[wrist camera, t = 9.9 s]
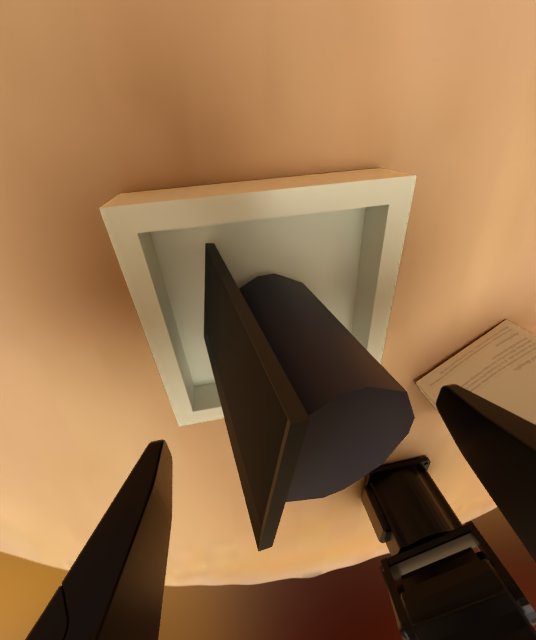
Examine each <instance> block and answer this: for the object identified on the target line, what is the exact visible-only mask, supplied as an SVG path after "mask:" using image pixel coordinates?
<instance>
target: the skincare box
mask: <svg viewBox="0 0 536 640" xmlns="http://www.w3.org/2000/svg"><path fill="white" fill-rule="evenodd" d="M449 384H457V385H459V386H461V387H463V388H465V389H467V390H469V391H471V392H473V393H475V394H477V395H479V396H481V397H483V398H484V399H486V400H488V401H490V402H492V403H494V404H496V405H498V406H500V407H502V408H504V409H506V410H508V411H510V412H512V413H514V414H516V415H518V416H520V417H522V418H524V419H526V420H527V421H529V422H531V423H533V424H535V425H536V336H535V335H534V334H532V333H530V332H528V331H526V330H525V329H523V328H521V327H519V326H518V325H516V324H514V323H512V322H510V321H509V320H505V321H503V322H502V323H501V324H499V325H498V326H496V327H495V328H493V329H492V330H491V331H489V332H488V333H486V334H485V335H483V336H482V337H480V338H479V339H478V340H476V341H475V342H473V343H472V344H470V345H469V346H468V347H466V348H465V349H463V350H462V351H460V352H459V353H457V354H456V355H454V356H453V357H452V358H450V359H449V360H447V361H446V362H444V363H443V364H441V365H440V366H438V367H437V368H435V369H434V370H433V371H431V372H430V373H428V374H427V375H425V376H424V377H422V378H421V379H420V380H418V381H417V382H416V385H417V386H418V388H419V389H420V390H421V392H422V393H423V394H424V395H425V396H426V398H427V399H428V400H429V401H430V403H431V404H432V405H433V406H434V408H435V409H436V410H437V407H436V400H437V397H438V395H439V392H440V389H441V387H442V386H444V385H449ZM437 411H438V410H437Z"/></svg>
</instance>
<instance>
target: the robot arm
mask: <svg viewBox="0 0 536 640" xmlns="http://www.w3.org/2000/svg"><path fill="white" fill-rule="evenodd" d="M436 407H437V410H438V412H439V414H440V415H441V417H442V419H443V421H444V423H445V425H446V426H447V428H448V430H449V432H450V434H451V435H452V437H453V439H454V441H455V443H456V445H457V446H458V448H459V450H460V451H461V453H462V455H463V456H464V458H465V459H466V461H467V462H468V464H469V465H470V467H471V468H472V470H473V471H474V473H475V474H476V475H477V477H478V478H479V480H480V481H481V483H482V484H483V486H484V487H485V489H486V490H487V492H488V493H489V495H490V496H491V498H492V499H493V501H494V502H495V504H496V505H497V506H498V508H499V509H500V511H501V512H502V514H503V515H504V517H505V518H506V520H507V521H508V523H509V524H510V526H511V527H512V528H513V530H514V532H515V533H516V535H517V536H518V537H519V539H520V540H521V542H522V543H523V545H524V546H525V547H526V549H527V551H528V552H529V554H530V555H531V556H532V558H533V560H534V561H535V563H536V425H535V424H533V423H531V422H529V421H527V420H526V419H524V418H522V417H520V416H518V415H516V414H514V413H512V412H510V411H508V410H506V409H504V408H502V407H500V406H498V405H496V404H494V403H492V402H490V401H488V400H486V399H484V398H483V397H481V396H479V395H477V394H475V393H473V392H471V391H469V390H467V389H465V388H463V387H461V386H459V385H457V384H449V385H444V386H442V387H441V389H440V392H439V395H438V397H437V400H436ZM429 465H430V460H429V459H428V457H423V458H418V459H413V460H409V461H404V462H400V463H395V464H391V465H386V466H382V467H377V468H376V469H374V470H373V471H371V472H370V473H368V474H367V477H366V482H365V486H364V490H363V495H362V502H363V505H364V507H365V509H366V511H367V514H368V516H369V518H370V521H371V523H372V525H373V528H374V530H375V533H376V535H377V537H378V540H379V541H380V542H381V543H385V542H386V545H387V547H388V549H389V551H390V554H391V557H389V558H383V559H381V563H382V565H381V566H380V570H381V573H382V575H383V577H384V580H385V583H386V585H387V588H388V591H389V594H390V598H391V602H392V605H393V609H394V613H395V617H396V620H397V624H398V628H399V631H400V634H401V636H402V638H403V639H404V640H536V631H535V630H534V628H533V627H532V626H533V625H536V613H535V612H534V610H533V608H532V607H531V605H530V604H529V602H528V601H527V599H526V597H525V596H524V595H523V593H522V591H521V590H520V589H519V587H518V586H517V584H516V583H515V581H514V580H513V579H512V577H511V576H510V574H509V573H508V571H507V570H506V569H505V567H504V566H503V564H502V563H501V562H500V560H499V559H498V558H497V556H496V555H495V553H494V552H493V550H492V549H491V548H490V546H489V545H488V543H487V542H486V541H485V539H484V538H483V536H482V535H481V534H480V532H479V531H478V530H477V528H476V527H475V525H474V524H473V523H472V522H471V521H469V522H467V523H465V525H462V524H461V522H460V521H459V519H458V518H457V516H456V515H455V513H454V511H453V510H452V508H451V507H450V505H449V504H448V502H447V501H446V499H445V498H444V496H443V495H442V493H441V492H440V490H439V489H438V487H437V486H436V484H435V482H434V481H433V479H432V478H431V476H430V475H429V473H428V472H427V469H428V467H429ZM171 521H172V456H171V453H170V451H169V448H168V446H167V443H166V441H165V440H157V441H152V442H150V443H149V444H148V446H147V447H146V449H145V451H144V452H143V454H142V455H141V457H140V459H139V460H138V462H137V463H136V465H135V467H134V468H133V470H132V471H131V473H130V475H129V476H128V478H127V479H126V481H125V482H124V484H123V486H122V487H121V489H120V490H119V492H118V494H117V495H116V497H115V498H114V500H113V502H112V503H111V505H110V506H109V508H108V510H107V511H106V513H105V514H104V516H103V518H102V519H101V521H100V522H99V524H98V526H97V527H96V529H95V530H94V532H93V534H92V535H91V537H90V538H89V540H88V542H87V543H86V545H85V546H84V548H83V549H82V551H81V553H80V554H79V556H78V557H77V559H76V561H75V562H74V564H73V565H72V567H71V569H70V570H69V572H68V574H67V575H66V577H65V578H64V580H63V581H62V586H59V587H58V589H57V591H56V592H55V594H54V596H53V597H52V599H51V600H50V602H49V603H48V605H47V607H46V608H45V610H44V611H43V613H42V614H41V616H40V618H39V619H38V621H37V622H36V624H35V625H34V627H33V628H32V630H31V631H30V633H29V635H28V636H27V638H26V639H25V640H158V636H159V627H160V619H161V609H162V601H163V592H164V584H165V575H166V566H167V557H168V548H169V540H170V531H171ZM474 547H478V548H479V550H480V551H479V552H477V553H475V552H474V551H473V549H472V548H474Z"/></svg>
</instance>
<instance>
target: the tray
mask: <svg viewBox="0 0 536 640" xmlns="http://www.w3.org/2000/svg"><path fill="white" fill-rule="evenodd" d="M416 177H417V175H414V174H409V173H403V172H398V171H393V170H388V169H383V168H372V169H362V170H352V171H342V172H332V173H322V174H312V175H301V176H291V177H281V178H271V179H261V180H251V181H241V182H231V183H221V184H211V185H201V186H190V187H180V188H170V189H160V190H150V191H140V192H130V193H120V194H118V195H117V196H115V197H114V198H113V199H111V200H110V201H108V202H107V203H105V204H104V205H102V206H101V207H100V208H99V210H100V213H101V216H102V218H103V221H104V224H105V227H106V229H107V232H108V235H109V237H110V240H111V243H112V246H113V248H114V251H115V254H116V257H117V259H118V262H119V265H120V267H121V270H122V273H123V276H124V278H125V281H126V284H127V287H128V289H129V292H130V295H131V297H132V300H133V303H134V306H135V308H136V311H137V314H138V317H139V319H140V322H141V325H142V327H143V330H144V333H145V336H146V338H147V341H148V344H149V347H150V349H151V352H152V355H153V357H154V360H155V363H156V366H157V368H158V371H159V374H160V377H161V379H162V382H163V385H164V387H165V390H166V393H167V396H168V398H169V401H170V404H171V407H172V409H173V412H174V415H175V417H176V420H177V423H178V426H179V427H180V426H185V425H190V424H196V423H201V422H206V421H211V420H217V419H222V418H224V415H223V411H222V407H221V403H220V399H219V395H218V391H217V387H216V383H215V379H214V375H213V372H212V368H211V364H210V360H209V356H208V352H207V348H206V344H205V340H204V291H205V243H214V244H215V246H216V248H217V250H218V251H219V253H220V255H221V257H222V259H223V261H224V262H225V264H226V266H227V268H228V270H229V272H230V273H231V275H232V277H233V279H234V281H235V283H236V284H237V286H238V288H241V287H242V286H244V285H245V284H247V283H248V282H250V281H251V280H253V279H254V278H256V277H257V276H262V275H268V274H274V273H275V274H278V275H281V276H284V277H287V278H290V279H293V280H296V281H299V282H302V283H304V285H305V286H306V287H307V288H308V289H309V290H310V291H311V292H312V293H313V294H314V295H315V296H316V297H317V298H318V299H319V300H320V301H321V302H322V303H323V304H324V306H325V307H326V308H327V309H328V310H329V311H330V312H331V313H332V314H333V315H334V316H335V317H336V318H337V319H338V320H339V321H340V322H341V323H342V324H343V325H344V327H345V328H346V329H347V330H348V331H349V332H350V333H351V334H352V335H353V336H354V337H355V338H356V339H357V340H358V341H359V342H360V343H361V344H362V345H363V346H364V348H365V349H366V350H367V351H368V352H369V353H370V354H371V355H372V356H373V357H374V358H375V359H376V360H377V361H378V362H379V363H380V364H381V360H382V355H383V350H384V344H385V339H386V334H387V329H388V323H389V318H390V313H391V308H392V303H393V297H394V292H395V287H396V282H397V277H398V271H399V266H400V261H401V256H402V250H403V245H404V240H405V235H406V230H407V224H408V219H409V214H410V209H411V203H412V198H413V193H414V188H415V183H416Z"/></svg>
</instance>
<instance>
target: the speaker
mask: <svg viewBox="0 0 536 640" xmlns="http://www.w3.org/2000/svg"><path fill="white" fill-rule="evenodd" d="M204 340H205V344H206V348H207V352H208V356H209V360H210V364H211V368H212V372H213V375H214V379H215V383H216V387H217V391H218V395H219V399H220V403H221V407H222V411H223V415H224V418H225V422H226V426H227V430H228V434H229V438H230V442H231V446H232V450H233V454H234V458H235V462H236V465H237V469H238V473H239V477H240V481H241V485H242V489H243V493H244V497H245V501H246V505H247V509H248V512H249V516H250V520H251V524H252V528H253V532H254V536H255V540H256V544H257V548H258V551H261V550H264V549H267V548H270V547H272V545H273V542H274V539H275V535H276V532H277V529H278V525H279V522H280V519H281V515H282V512H283V509H284V505H285V502H290V501H299V500H307V499H316V498H323V497H326V496H328V495H331V494H333V493H336V492H338V491H341V490H343V489H345V488H347V487H348V486H350V485H351V484H353V483H354V482H356V481H357V480H359V479H360V478H362V477H363V476H365V475H366V474H368V473H370V472H371V471H373V470H374V469H376V468H377V467H379V466H380V465H382V464H383V462H384V461H385V460H386V459H387V458H388V457H389V455H390V454H391V453H392V452H393V451H394V450H395V448H396V447H397V446H398V445H399V444H400V443H401V441H402V440H403V439H404V438H405V437H406V436H407V434H408V433H409V431H410V428H411V425H412V423H413V420H414V418H415V417H414V414H413V410H412V407H411V404H410V401H409V397H408V394H407V392H406V391H405V389H404V388H403V387H402V386H401V385H400V384H399V383H398V382H397V381H396V380H395V379H394V378H393V377H392V376H391V375H390V374H389V373H388V372H387V371H386V370H385V368H384V367H383V366H382V365H381V364H380V363H379V362H378V361H377V360H376V359H375V358H374V357H373V356H372V355H371V354H370V353H369V352H368V351H367V350H366V349H365V348H364V346H363V345H362V344H361V343H360V342H359V341H358V340H357V339H356V338H355V337H354V336H353V335H352V334H351V333H350V332H349V331H348V330H347V329H346V328H345V327H344V325H343V324H342V323H341V322H340V321H339V320H338V319H337V318H336V317H335V316H334V315H333V314H332V313H331V312H330V311H329V310H328V309H327V308H326V307H325V306H324V304H323V303H322V302H321V301H320V300H319V299H318V298H317V297H316V296H315V295H314V294H313V293H312V292H311V291H310V290H309V289H308V288H307V287H306V286H305V285H304V283H302V282H299V281H296V280H293V279H290V278H287V277H284V276H281V275H278V274H275V273H274V274H268V275H262V276H257V277H256V278H254V279H253V280H251V281H250V282H248V283H247V284H245V285H244V286H242V287H241V288H238V286H237V284H236V283H235V281H234V279H233V277H232V275H231V273H230V272H229V270H228V268H227V266H226V264H225V262H224V261H223V259H222V257H221V255H220V253H219V251H218V250H217V248H216V246H215V244H214V243H205V291H204Z"/></svg>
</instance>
